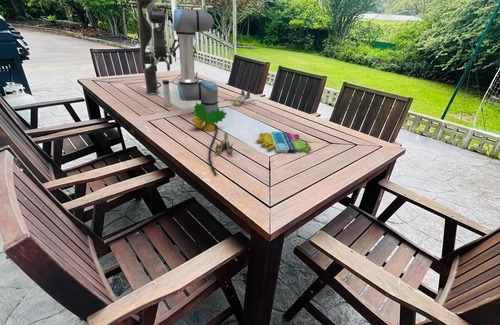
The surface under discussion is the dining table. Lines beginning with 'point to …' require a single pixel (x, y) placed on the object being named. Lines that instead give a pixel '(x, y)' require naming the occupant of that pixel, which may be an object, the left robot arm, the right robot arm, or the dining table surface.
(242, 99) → the toy
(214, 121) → the ornament
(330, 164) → the dining table surface
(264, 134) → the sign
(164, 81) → the lid
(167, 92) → the bottle
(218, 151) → the jawbone
